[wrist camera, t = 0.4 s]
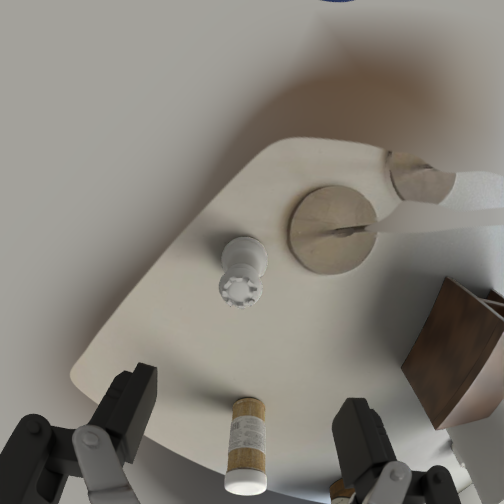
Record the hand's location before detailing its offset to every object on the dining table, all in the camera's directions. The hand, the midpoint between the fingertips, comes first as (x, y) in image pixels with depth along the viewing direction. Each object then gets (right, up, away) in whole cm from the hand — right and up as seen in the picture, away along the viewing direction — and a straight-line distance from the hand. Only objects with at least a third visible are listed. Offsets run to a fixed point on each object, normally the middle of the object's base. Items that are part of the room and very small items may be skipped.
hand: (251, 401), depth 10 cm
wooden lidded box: (+28, -5, +20) cm, 34 cm away
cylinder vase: (+41, -22, +25) cm, 53 cm away
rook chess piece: (-1, +6, +17) cm, 18 cm away
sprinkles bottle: (0, -15, +24) cm, 28 cm away
